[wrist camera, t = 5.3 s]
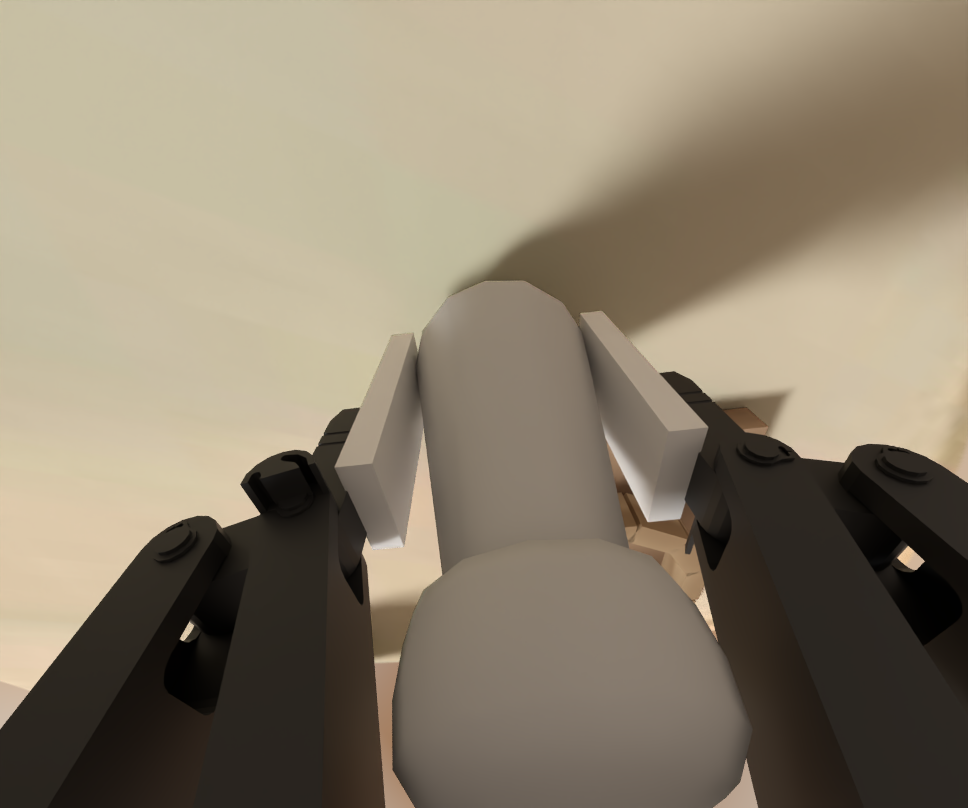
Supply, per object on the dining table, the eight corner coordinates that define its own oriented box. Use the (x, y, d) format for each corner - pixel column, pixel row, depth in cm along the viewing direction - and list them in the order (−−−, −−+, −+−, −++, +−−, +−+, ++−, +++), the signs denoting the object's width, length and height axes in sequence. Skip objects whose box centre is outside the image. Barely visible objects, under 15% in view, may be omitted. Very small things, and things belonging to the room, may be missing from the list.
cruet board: (434, 441, 17) (427, 496, 15) (746, 407, 17) (803, 457, 14) (477, 621, 28) (478, 675, 25) (674, 602, 27) (699, 655, 24)
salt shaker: (405, 280, 13) (129, 808, 2) (561, 246, 13) (1080, 701, 2) (445, 408, 16) (405, 879, 6) (570, 385, 16) (787, 845, 5)
